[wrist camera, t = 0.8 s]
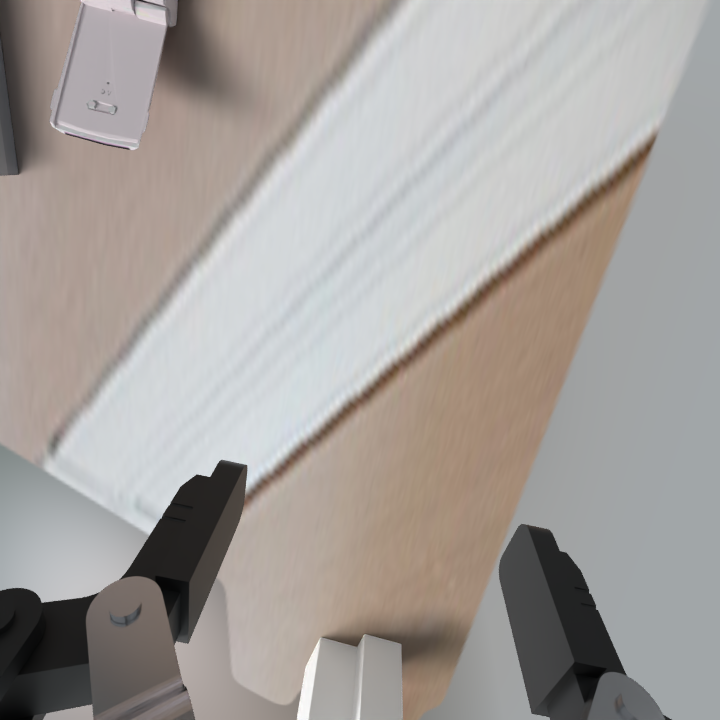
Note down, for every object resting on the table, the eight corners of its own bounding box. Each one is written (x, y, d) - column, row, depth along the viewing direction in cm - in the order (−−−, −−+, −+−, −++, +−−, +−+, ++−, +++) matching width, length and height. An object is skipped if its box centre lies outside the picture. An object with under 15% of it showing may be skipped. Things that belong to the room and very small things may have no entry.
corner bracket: (401, 643, 57) (403, 757, 46) (374, 684, 62) (370, 795, 51) (327, 623, 56) (312, 734, 45) (305, 666, 61) (287, 775, 50)
